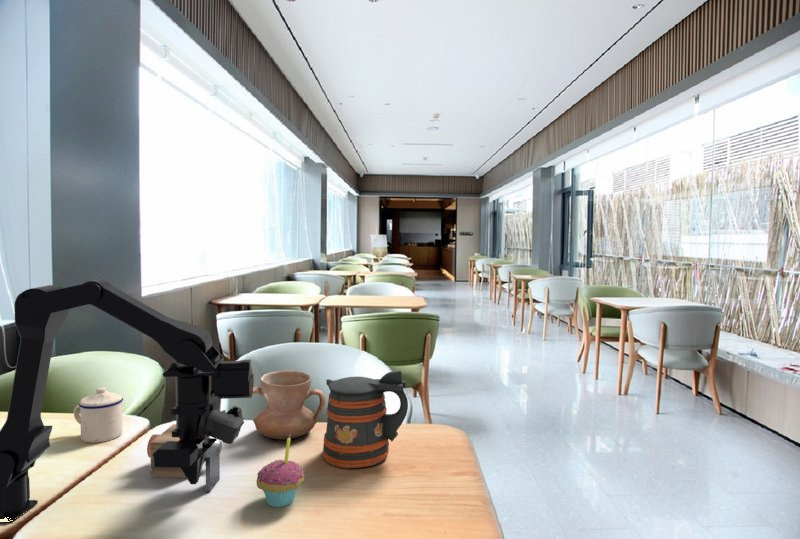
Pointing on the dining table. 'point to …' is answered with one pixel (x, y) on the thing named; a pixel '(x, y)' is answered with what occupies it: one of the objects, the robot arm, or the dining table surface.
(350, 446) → the beer stein
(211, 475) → the bracket
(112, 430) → the teacup with lid
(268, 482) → the cupcake
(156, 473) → the hitch block
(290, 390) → the ceramic jug
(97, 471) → the dining table surface
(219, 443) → the pin
